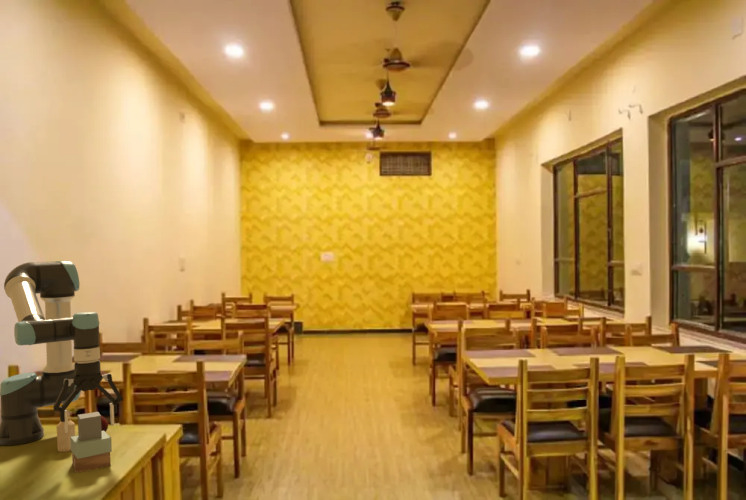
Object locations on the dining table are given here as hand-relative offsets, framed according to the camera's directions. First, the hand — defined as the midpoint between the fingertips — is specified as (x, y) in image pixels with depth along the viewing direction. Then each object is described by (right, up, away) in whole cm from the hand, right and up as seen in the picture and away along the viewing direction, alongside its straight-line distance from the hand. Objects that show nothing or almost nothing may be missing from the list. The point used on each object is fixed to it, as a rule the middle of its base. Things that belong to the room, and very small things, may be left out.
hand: (89, 427), depth 196 cm
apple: (-11, -12, +30) cm, 35 cm away
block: (0, -3, 0) cm, 3 cm away
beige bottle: (-15, -12, +16) cm, 25 cm away
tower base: (+1, -12, 0) cm, 12 cm away
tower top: (0, -7, 0) cm, 7 cm away
